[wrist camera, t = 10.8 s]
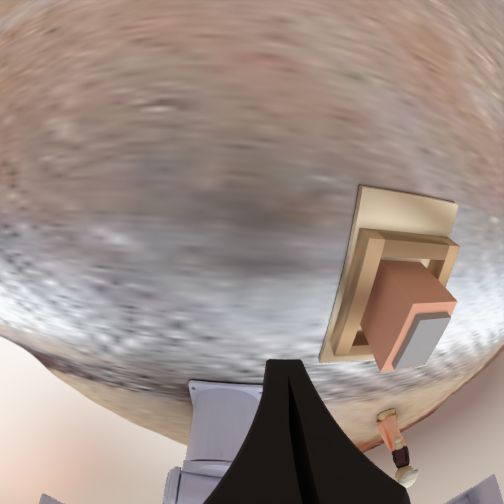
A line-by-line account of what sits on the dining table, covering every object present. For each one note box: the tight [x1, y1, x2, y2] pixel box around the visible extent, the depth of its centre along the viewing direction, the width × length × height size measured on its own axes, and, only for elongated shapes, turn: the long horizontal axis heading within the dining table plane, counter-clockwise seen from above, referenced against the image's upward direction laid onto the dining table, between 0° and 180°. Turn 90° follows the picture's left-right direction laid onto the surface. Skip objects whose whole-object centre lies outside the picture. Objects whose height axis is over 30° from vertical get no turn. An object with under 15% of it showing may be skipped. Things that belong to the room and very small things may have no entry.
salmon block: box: [360, 260, 457, 372], centre depth 17 cm, size 6×4×6 cm, turn 177°
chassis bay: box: [319, 185, 460, 363], centre depth 19 cm, size 16×9×2 cm, turn 177°
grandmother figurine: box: [377, 409, 419, 488], centre depth 25 cm, size 8×4×13 cm, turn 41°
